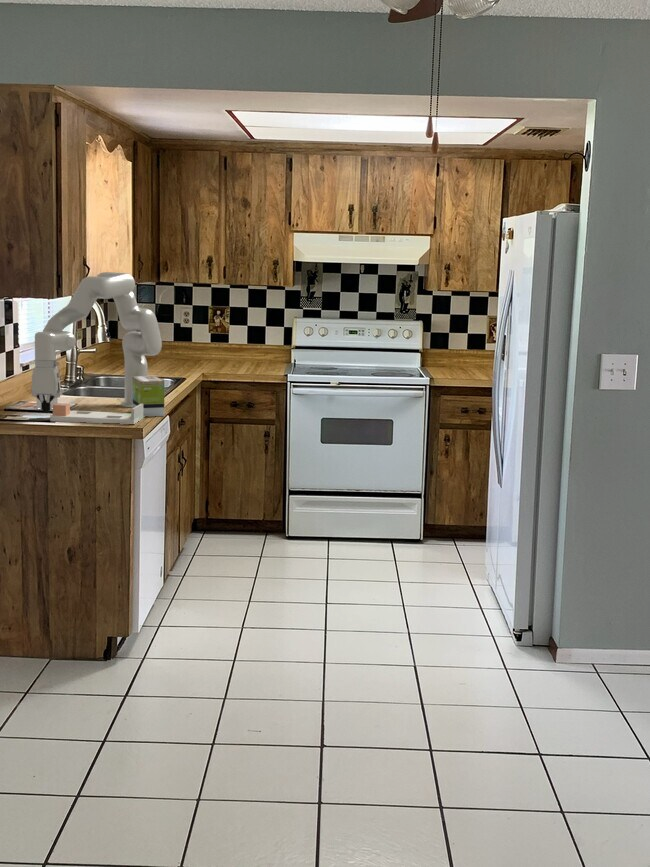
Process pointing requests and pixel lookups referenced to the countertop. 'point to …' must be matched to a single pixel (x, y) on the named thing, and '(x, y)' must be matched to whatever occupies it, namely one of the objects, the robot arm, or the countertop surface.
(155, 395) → the tea box
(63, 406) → the block
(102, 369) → the countertop surface
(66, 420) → the board
